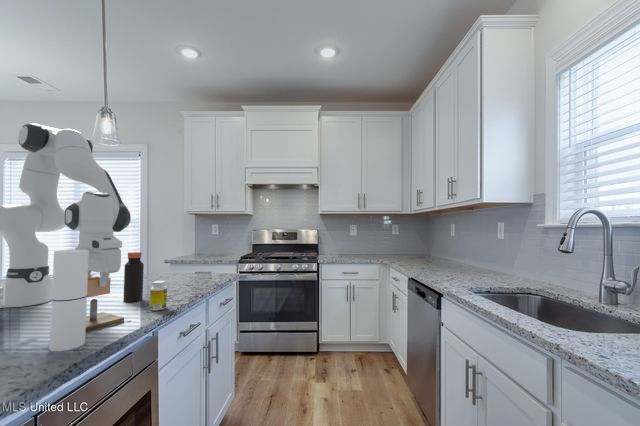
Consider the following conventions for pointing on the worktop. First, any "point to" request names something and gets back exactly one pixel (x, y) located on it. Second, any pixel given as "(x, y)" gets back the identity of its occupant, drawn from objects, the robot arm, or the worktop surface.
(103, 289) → the light brown block
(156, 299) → the supplement bottle
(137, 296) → the vinegar
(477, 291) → the worktop surface
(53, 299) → the cylindrical container
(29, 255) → the robot arm
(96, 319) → the pin stand
